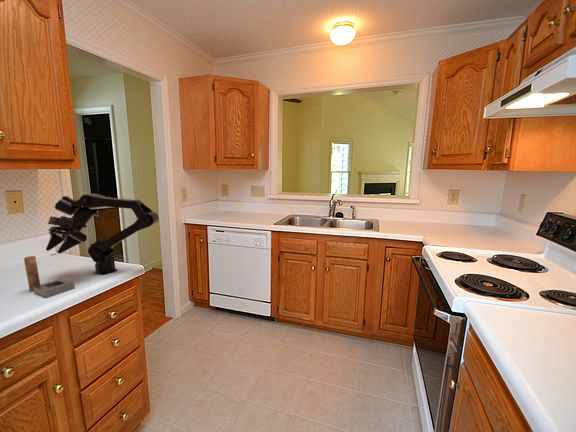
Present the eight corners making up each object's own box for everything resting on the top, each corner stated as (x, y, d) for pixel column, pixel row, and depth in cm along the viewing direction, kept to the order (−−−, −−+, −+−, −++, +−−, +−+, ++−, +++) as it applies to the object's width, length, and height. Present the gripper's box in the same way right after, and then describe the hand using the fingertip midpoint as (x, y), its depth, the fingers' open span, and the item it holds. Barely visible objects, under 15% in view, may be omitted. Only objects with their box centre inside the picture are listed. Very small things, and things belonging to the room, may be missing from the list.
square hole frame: (62, 284, 110) (61, 278, 110) (74, 288, 106) (74, 282, 106) (34, 293, 102) (33, 286, 102) (46, 297, 98) (45, 291, 98)
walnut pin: (38, 287, 107) (33, 255, 105) (42, 289, 106) (37, 256, 104) (28, 290, 104) (22, 258, 102) (32, 292, 103) (26, 259, 101)
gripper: (50, 207, 115) (20, 238, 108) (74, 209, 107) (43, 244, 99) (74, 222, 124) (48, 252, 116) (98, 225, 115) (71, 258, 107)
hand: (52, 251), depth 109 cm, fingers open, 9 cm apart
